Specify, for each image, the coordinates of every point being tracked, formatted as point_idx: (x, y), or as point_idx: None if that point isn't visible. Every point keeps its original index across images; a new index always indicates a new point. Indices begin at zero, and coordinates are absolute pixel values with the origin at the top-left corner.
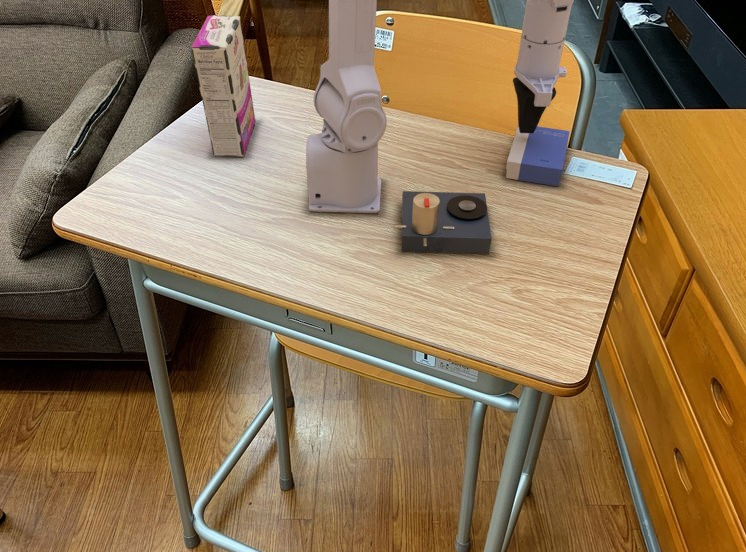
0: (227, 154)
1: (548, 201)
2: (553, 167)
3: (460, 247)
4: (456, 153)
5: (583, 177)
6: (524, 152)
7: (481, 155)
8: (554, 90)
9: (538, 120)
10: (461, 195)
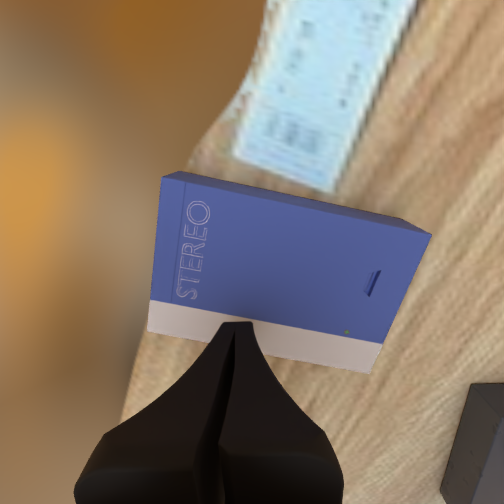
0: None
1: (465, 251)
2: (415, 261)
3: None
4: None
5: (352, 136)
6: (322, 330)
7: None
8: (283, 462)
9: (259, 349)
10: (500, 456)
